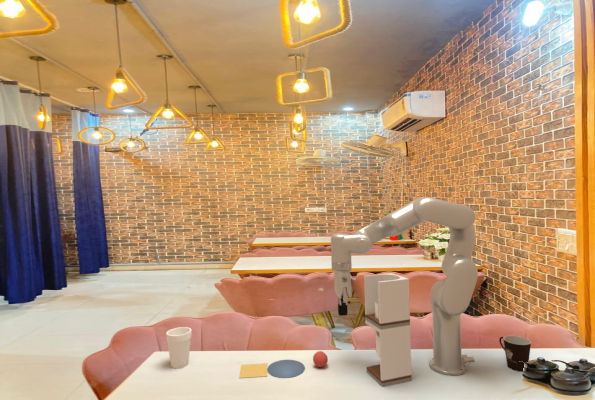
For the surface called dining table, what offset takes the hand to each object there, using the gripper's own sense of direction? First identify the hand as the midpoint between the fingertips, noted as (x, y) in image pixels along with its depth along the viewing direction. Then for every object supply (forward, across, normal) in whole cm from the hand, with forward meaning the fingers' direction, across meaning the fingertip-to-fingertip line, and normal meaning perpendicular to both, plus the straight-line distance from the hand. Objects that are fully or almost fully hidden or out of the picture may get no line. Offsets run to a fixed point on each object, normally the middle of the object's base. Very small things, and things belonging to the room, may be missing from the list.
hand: (342, 314), depth 137 cm
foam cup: (+19, +9, +63) cm, 67 cm away
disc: (+19, 0, +22) cm, 29 cm away
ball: (+16, 0, +9) cm, 19 cm away
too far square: (+19, 0, +34) cm, 39 cm away
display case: (+19, -11, -14) cm, 26 cm away
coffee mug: (+19, -9, -62) cm, 66 cm away
